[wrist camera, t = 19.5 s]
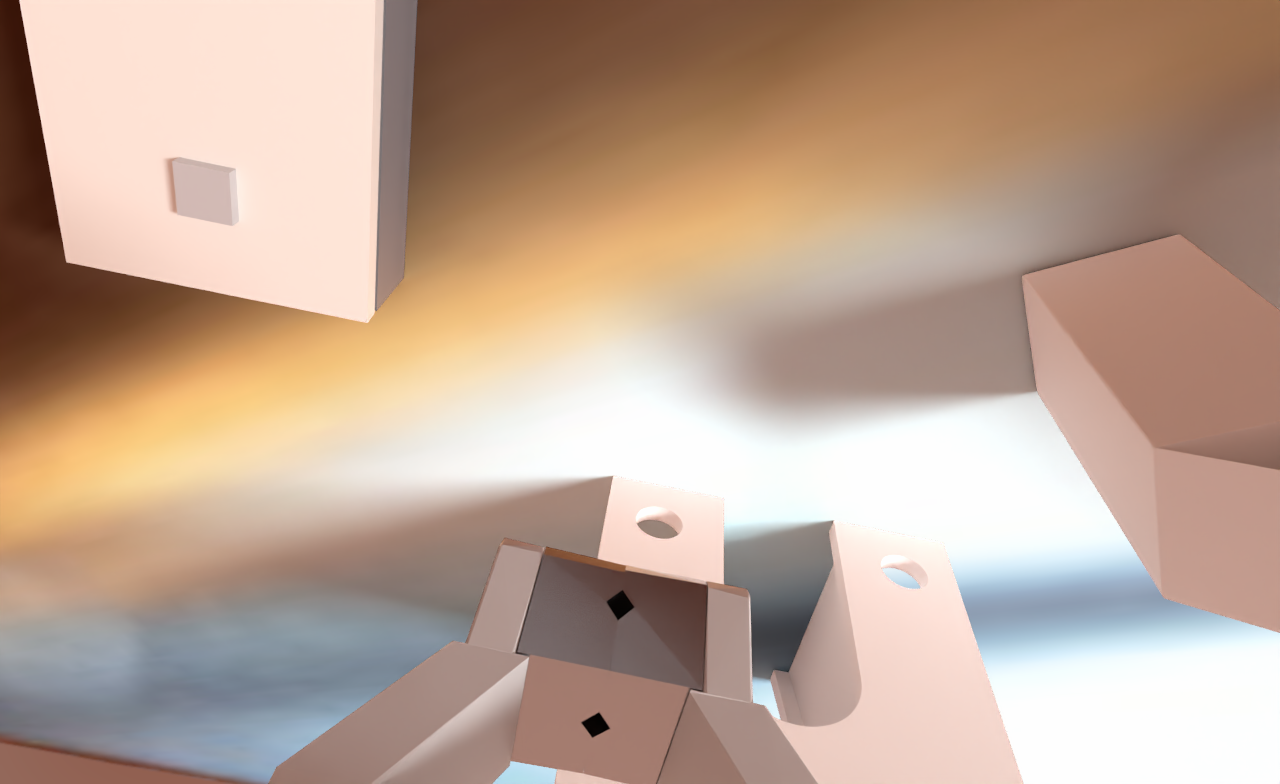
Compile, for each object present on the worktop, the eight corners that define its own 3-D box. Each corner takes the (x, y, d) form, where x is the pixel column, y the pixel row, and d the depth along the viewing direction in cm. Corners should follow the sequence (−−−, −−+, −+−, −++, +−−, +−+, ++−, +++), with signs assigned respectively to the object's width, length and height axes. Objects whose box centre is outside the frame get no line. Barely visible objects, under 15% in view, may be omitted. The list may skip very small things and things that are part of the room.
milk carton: (1035, 392, 44) (1215, 685, 28) (1019, 272, 41) (1211, 525, 25) (1183, 358, 43) (1465, 649, 26) (1178, 230, 39) (1497, 472, 23)
